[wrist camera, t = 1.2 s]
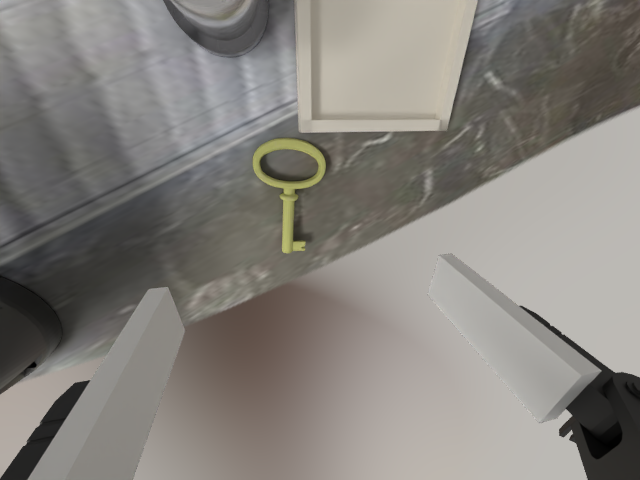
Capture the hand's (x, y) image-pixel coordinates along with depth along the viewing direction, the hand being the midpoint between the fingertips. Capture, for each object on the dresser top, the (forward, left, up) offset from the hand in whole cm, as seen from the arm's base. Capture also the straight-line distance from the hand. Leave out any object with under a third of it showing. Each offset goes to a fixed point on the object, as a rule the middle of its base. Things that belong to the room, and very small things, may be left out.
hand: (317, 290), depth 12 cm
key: (0, 0, -17) cm, 17 cm away
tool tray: (+9, +15, -16) cm, 23 cm away
